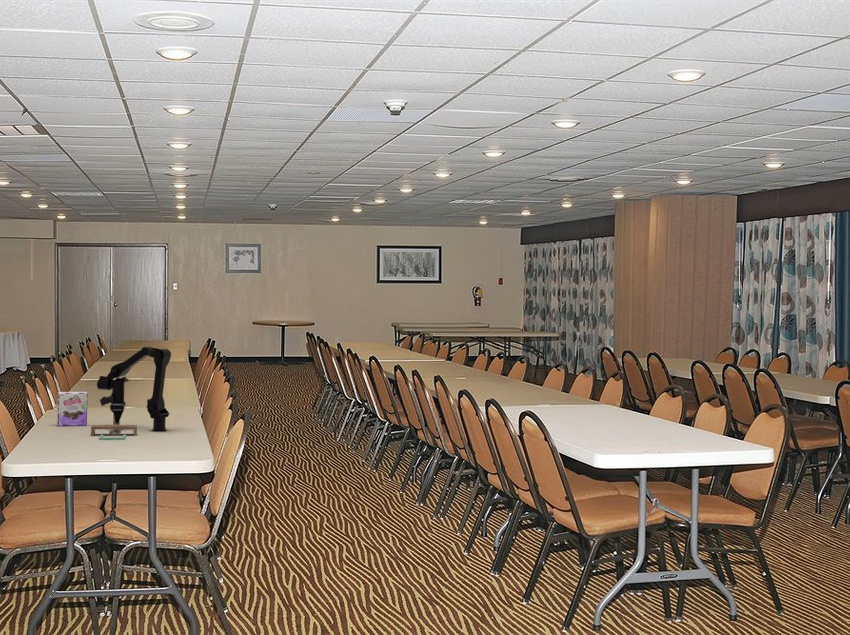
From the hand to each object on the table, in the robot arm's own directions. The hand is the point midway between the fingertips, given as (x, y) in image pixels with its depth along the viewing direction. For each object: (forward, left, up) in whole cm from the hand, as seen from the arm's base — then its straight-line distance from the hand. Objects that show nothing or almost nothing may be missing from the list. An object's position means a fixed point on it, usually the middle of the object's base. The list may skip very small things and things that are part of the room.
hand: (117, 422), depth 486 cm
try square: (+9, 0, -3) cm, 9 cm away
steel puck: (+25, 0, -3) cm, 25 cm away
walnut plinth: (+25, 0, -2) cm, 25 cm away
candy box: (-9, -22, -3) cm, 24 cm away
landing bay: (+35, 0, -2) cm, 35 cm away
